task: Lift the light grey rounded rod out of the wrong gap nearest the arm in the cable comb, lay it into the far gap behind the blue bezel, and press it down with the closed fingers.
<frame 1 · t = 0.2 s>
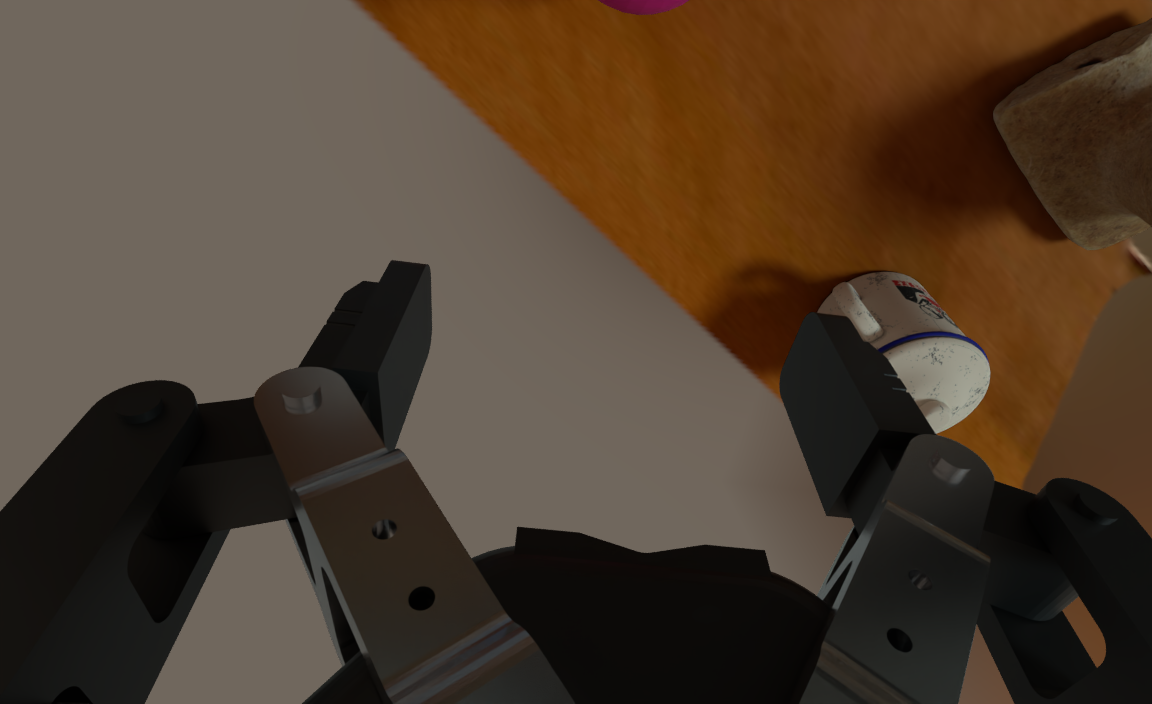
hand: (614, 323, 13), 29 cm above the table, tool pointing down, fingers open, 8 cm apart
teacup with lid: (857, 304, 46), on the table
tan piece: (1115, 122, 38), on the table
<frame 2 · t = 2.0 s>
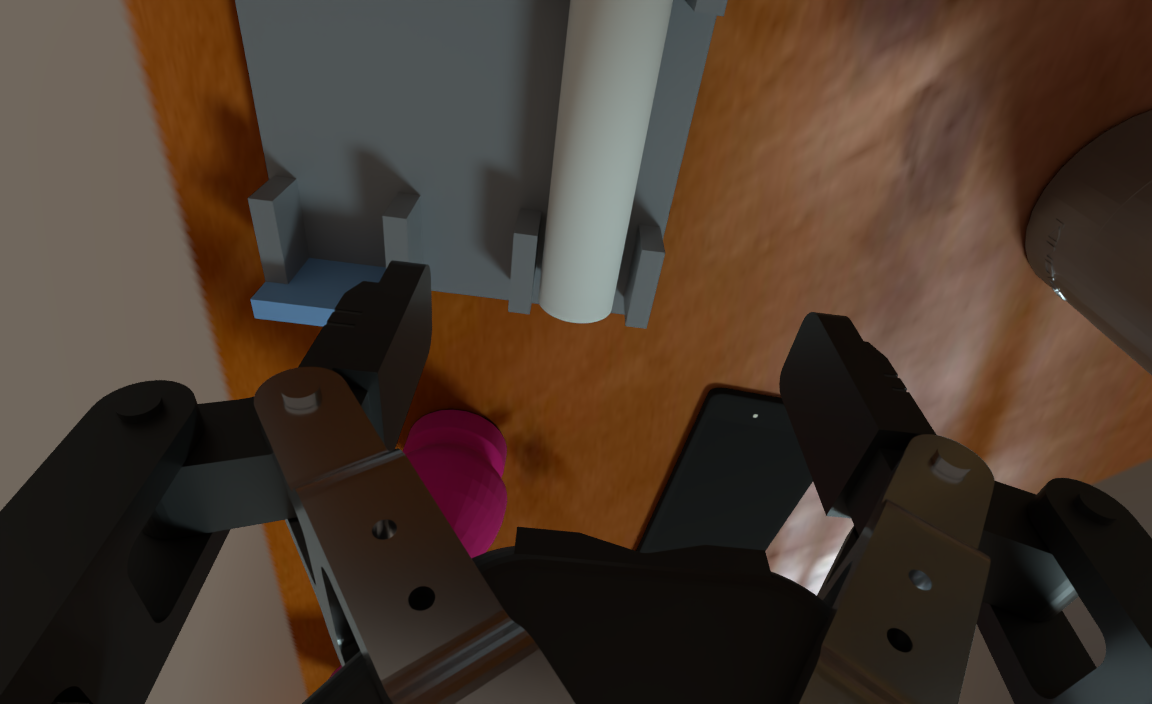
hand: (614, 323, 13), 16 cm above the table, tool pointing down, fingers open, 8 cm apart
cell phone: (727, 488, 41), on the table
cable comb: (476, 92, 25), on the table
pepper mill: (458, 441, 38), on the table
light grey rounded rod: (607, 117, 25), point 1 cm above the table, tilted 8°, touching cable comb
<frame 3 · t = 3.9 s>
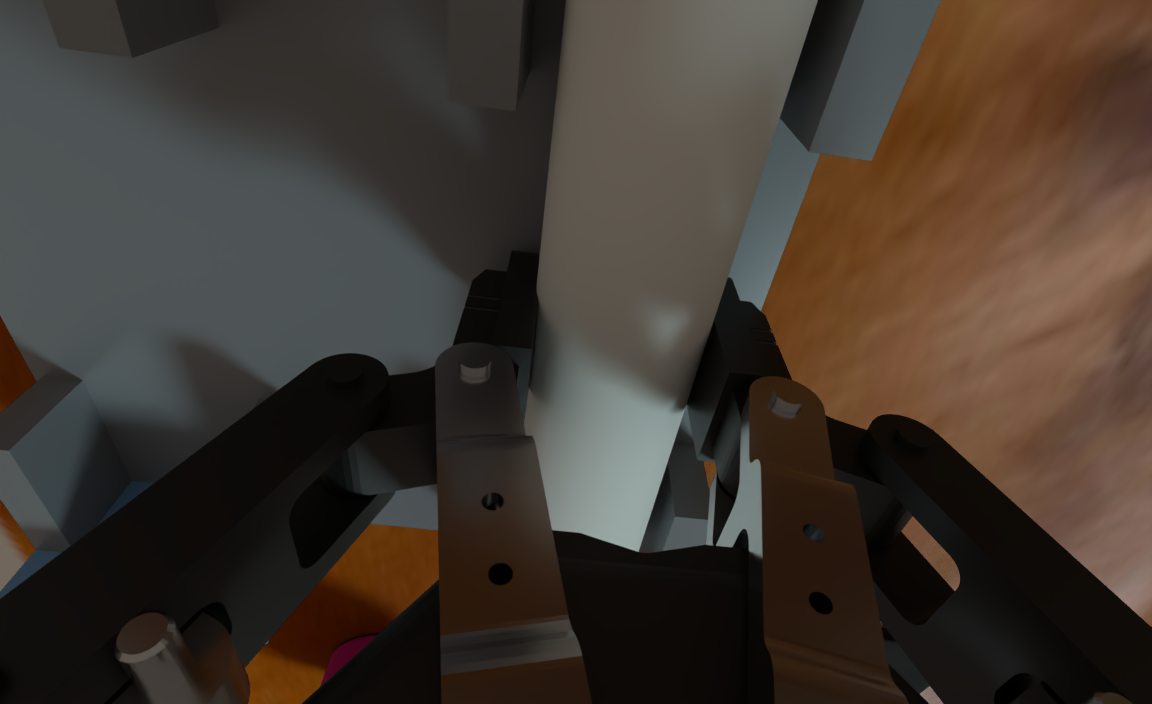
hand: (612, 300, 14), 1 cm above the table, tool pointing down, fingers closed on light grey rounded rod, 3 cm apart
cable comb: (381, 245, 14), on the table
pepper mill: (402, 662, 27), on the table
light grey rounded rod: (613, 295, 14), point 1 cm above the table, touching cable comb, gripper
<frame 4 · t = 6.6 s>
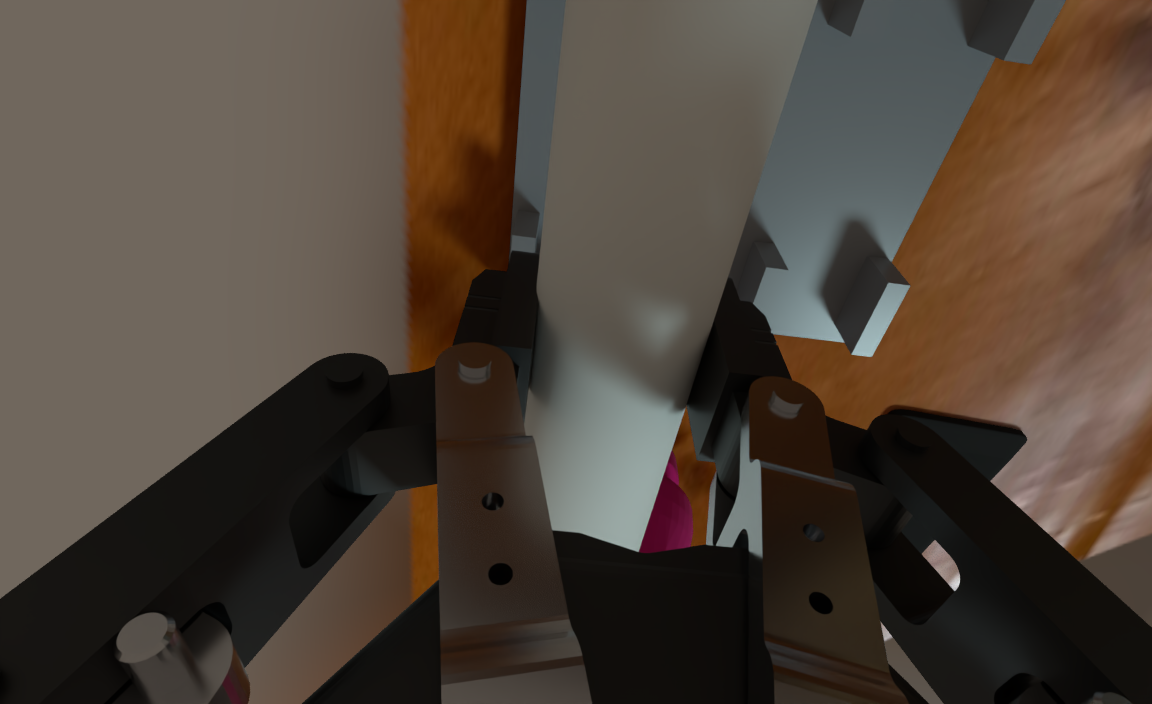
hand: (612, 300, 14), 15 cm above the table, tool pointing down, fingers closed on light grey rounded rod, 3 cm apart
cell phone: (881, 505, 42), on the table
cable comb: (730, 129, 26), on the table
pepper mill: (627, 461, 39), on the table
light grey rounded rod: (613, 296, 14), point 15 cm above the table, touching gripper
when the fingers open (2 cm above the table, at t = 9.2 s): light grey rounded rod stays where it is, resting on cable comb.
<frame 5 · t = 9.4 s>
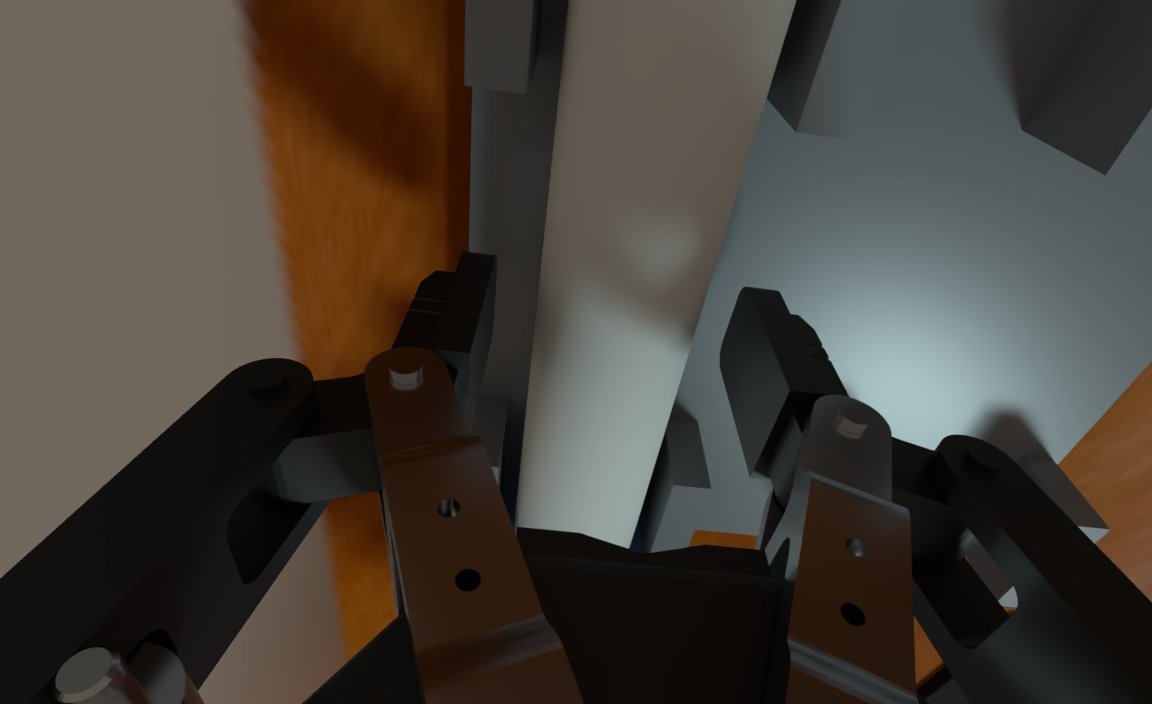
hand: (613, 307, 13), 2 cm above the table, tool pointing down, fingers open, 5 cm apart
cell phone: (973, 700, 31), on the table
cable comb: (819, 280, 16), on the table
light grey rounded rod: (613, 274, 15), point 1 cm above the table, touching cable comb
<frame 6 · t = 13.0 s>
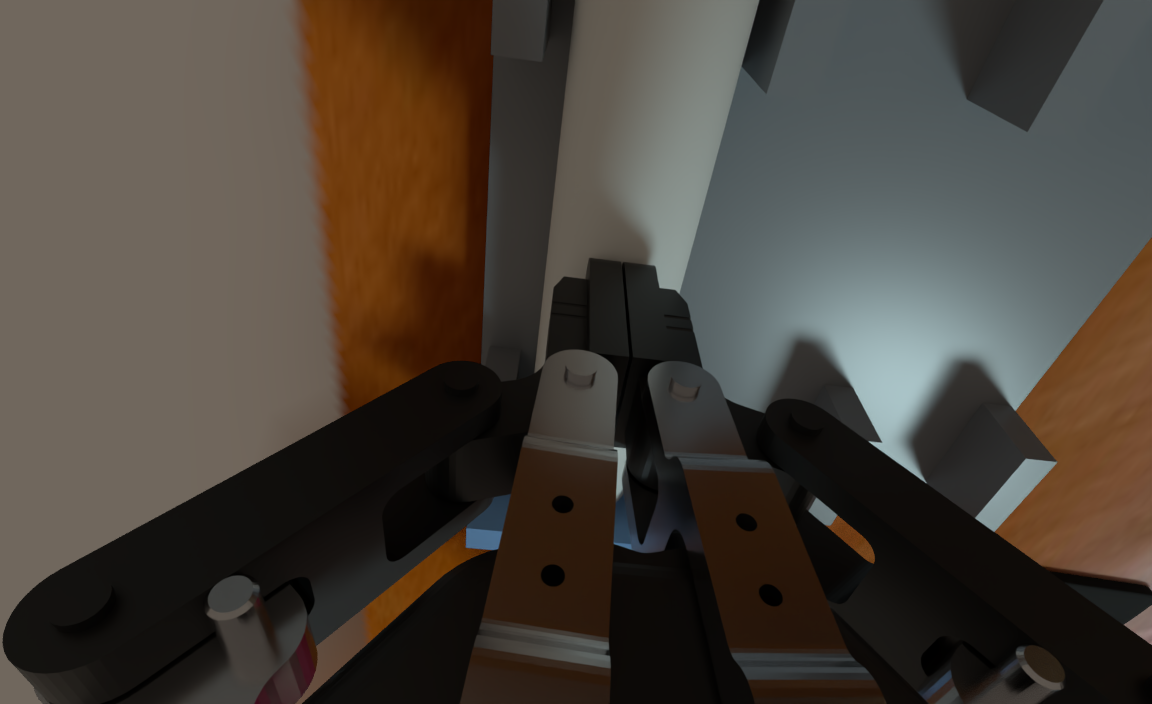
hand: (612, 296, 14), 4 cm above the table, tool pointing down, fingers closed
cell phone: (953, 654, 33), on the table
cable comb: (797, 238, 18), on the table
light grey rounded rod: (614, 229, 17), point 1 cm above the table, touching cable comb, gripper
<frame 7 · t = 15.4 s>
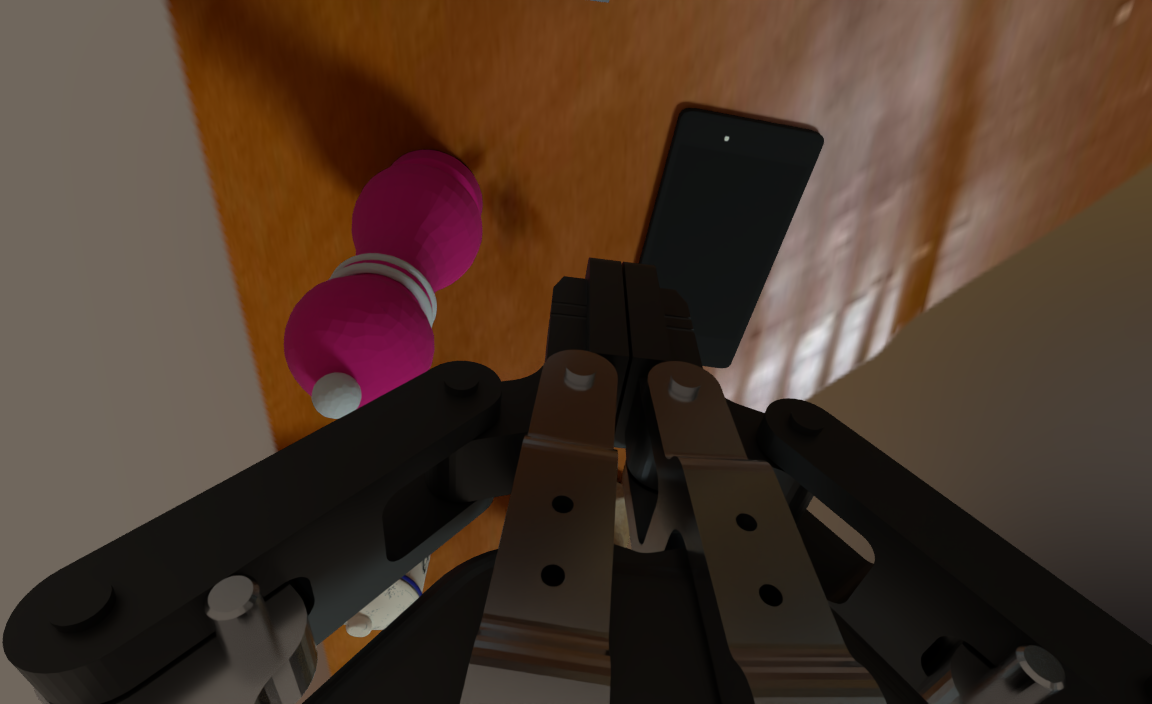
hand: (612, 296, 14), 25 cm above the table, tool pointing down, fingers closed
cell phone: (706, 250, 41), on the table
teacup with lid: (393, 502, 57), on the table
pepper mill: (434, 196, 38), on the table
tan piece: (587, 513, 58), on the table
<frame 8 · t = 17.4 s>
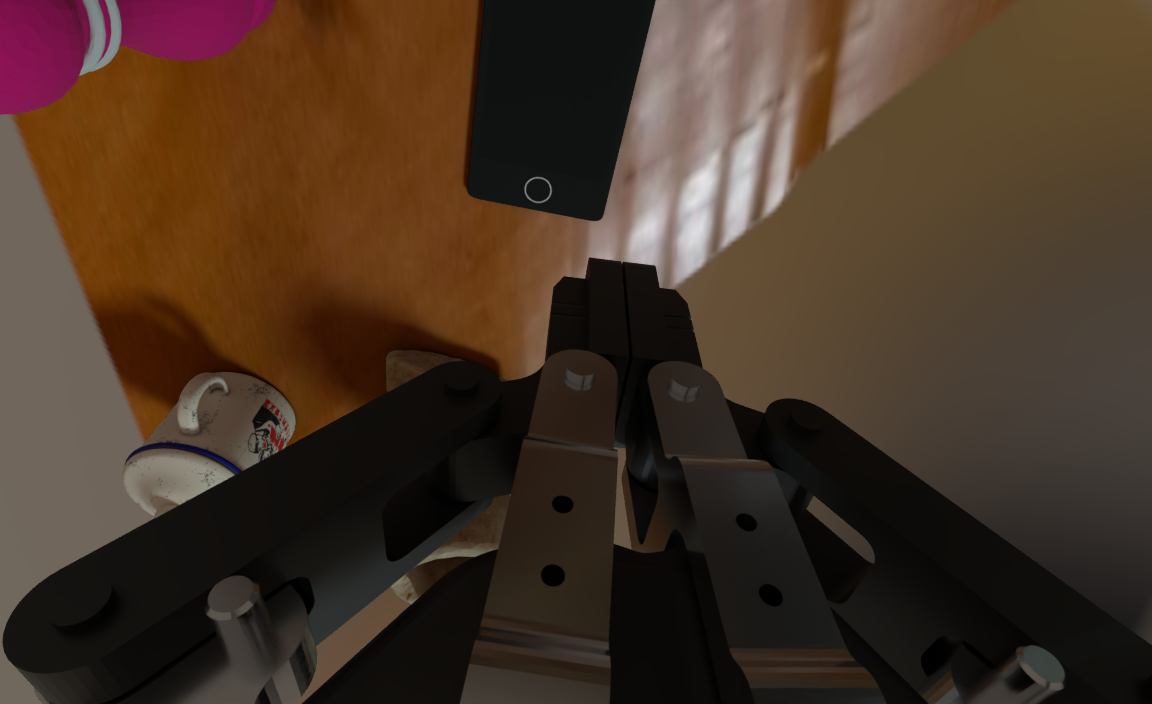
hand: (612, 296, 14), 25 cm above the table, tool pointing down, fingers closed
cell phone: (560, 57, 34), on the table
teacup with lid: (243, 394, 50), on the table
tan piece: (466, 415, 51), on the table
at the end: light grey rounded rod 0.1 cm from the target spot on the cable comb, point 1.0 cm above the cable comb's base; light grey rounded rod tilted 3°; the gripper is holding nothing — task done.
